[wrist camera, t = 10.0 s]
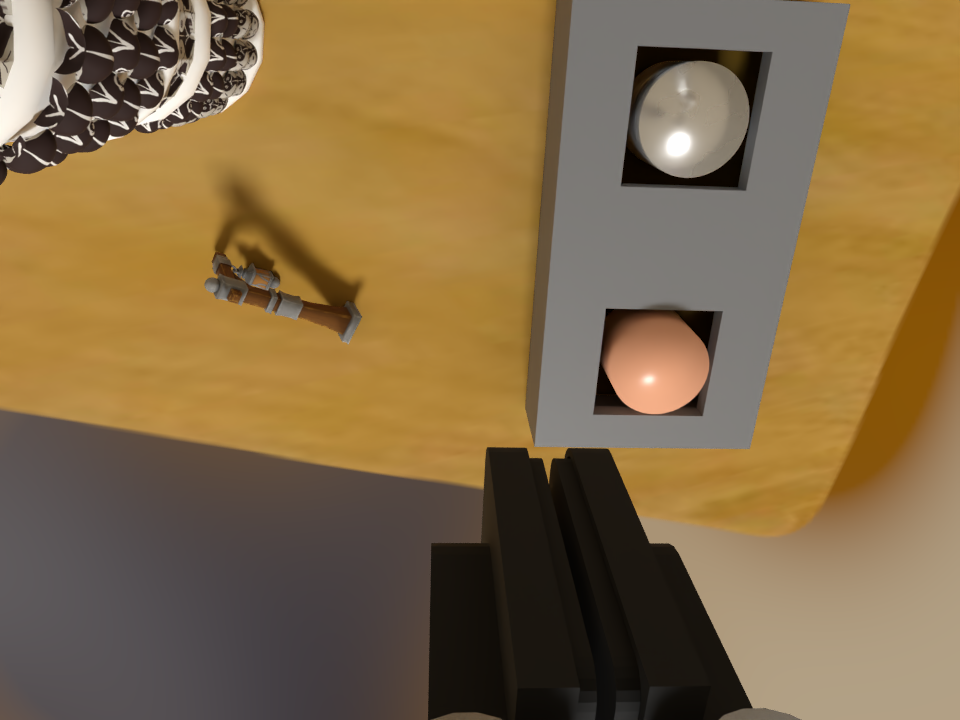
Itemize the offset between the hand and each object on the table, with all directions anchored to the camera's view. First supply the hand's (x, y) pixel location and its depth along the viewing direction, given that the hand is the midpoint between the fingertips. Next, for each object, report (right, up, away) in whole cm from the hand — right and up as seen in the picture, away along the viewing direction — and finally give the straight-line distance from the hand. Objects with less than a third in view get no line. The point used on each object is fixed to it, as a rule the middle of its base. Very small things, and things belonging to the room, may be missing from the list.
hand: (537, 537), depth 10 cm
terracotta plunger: (+8, +4, +29) cm, 31 cm away
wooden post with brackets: (-11, +6, +29) cm, 32 cm away
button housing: (+8, +10, +28) cm, 31 cm away
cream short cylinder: (+9, +15, +25) cm, 31 cm away
